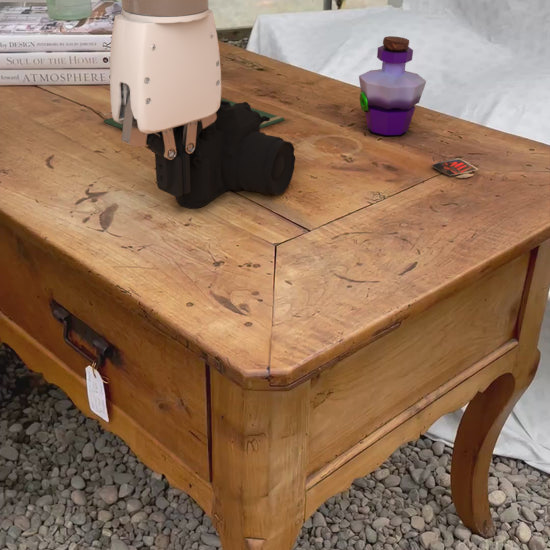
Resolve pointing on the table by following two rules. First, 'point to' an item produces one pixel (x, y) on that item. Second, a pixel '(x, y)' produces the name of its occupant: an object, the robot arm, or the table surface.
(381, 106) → the potion bottle
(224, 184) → the film camera
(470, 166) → the matchbox
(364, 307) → the table surface
